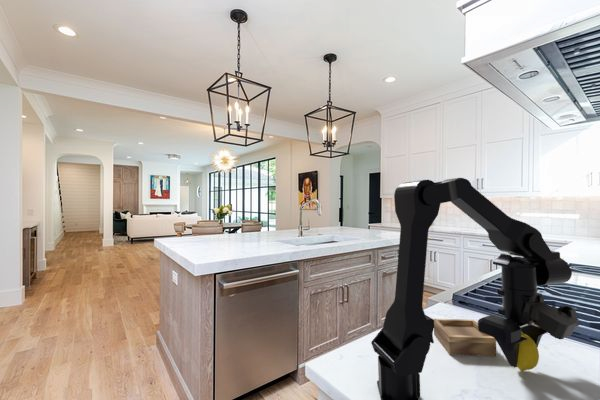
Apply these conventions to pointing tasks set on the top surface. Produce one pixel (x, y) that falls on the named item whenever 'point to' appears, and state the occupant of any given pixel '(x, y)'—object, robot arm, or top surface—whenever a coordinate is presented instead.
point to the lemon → (527, 354)
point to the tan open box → (464, 338)
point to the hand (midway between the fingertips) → (521, 362)
